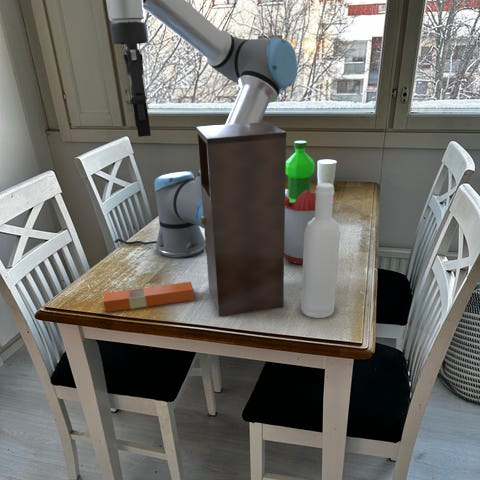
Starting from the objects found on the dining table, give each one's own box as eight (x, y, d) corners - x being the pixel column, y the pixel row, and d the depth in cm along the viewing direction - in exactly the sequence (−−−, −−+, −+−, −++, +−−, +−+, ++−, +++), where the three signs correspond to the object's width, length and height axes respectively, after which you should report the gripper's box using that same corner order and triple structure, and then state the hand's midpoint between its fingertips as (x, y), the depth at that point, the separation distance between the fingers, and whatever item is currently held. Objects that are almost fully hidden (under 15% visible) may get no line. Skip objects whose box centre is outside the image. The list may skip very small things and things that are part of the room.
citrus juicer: (311, 241, 148) (314, 177, 137) (340, 262, 134) (347, 193, 123) (266, 250, 143) (266, 185, 133) (292, 272, 129) (294, 201, 119)
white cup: (337, 184, 201) (339, 160, 195) (330, 188, 195) (332, 164, 190) (320, 182, 204) (322, 158, 199) (313, 186, 199) (314, 162, 193)
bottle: (316, 322, 107) (324, 193, 91) (294, 308, 112) (297, 184, 96) (341, 311, 111) (353, 185, 95) (318, 298, 116) (325, 177, 100)
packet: (105, 312, 114) (103, 301, 112) (106, 303, 118) (103, 293, 116) (194, 300, 118) (193, 289, 116) (192, 291, 122) (190, 281, 120)
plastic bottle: (281, 217, 168) (282, 144, 155) (288, 207, 176) (289, 138, 163) (308, 219, 165) (311, 145, 152) (314, 209, 173) (317, 139, 160)
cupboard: (267, 281, 125) (267, 121, 104) (283, 307, 113) (286, 132, 92) (205, 290, 122) (191, 127, 101) (214, 317, 110) (201, 139, 89)
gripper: (150, 19, 87) (163, 139, 98) (143, 22, 107) (155, 121, 118) (109, 20, 85) (127, 142, 96) (110, 24, 106) (125, 123, 117)
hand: (143, 131), depth 107 cm, fingers open, 13 cm apart
